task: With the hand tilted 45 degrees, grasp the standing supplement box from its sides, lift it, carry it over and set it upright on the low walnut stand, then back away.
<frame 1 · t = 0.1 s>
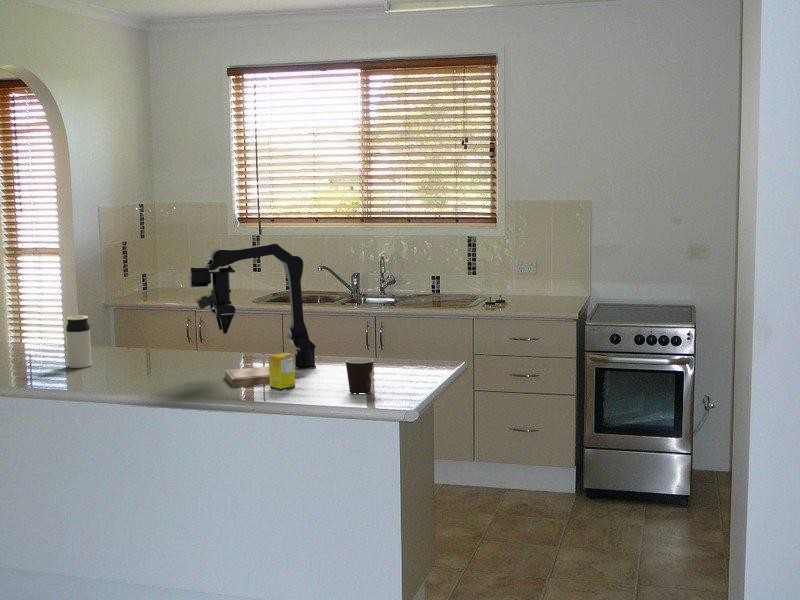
hand: (222, 331, 325), 15 cm above the countertop, tool pointing down, fingers open, 9 cm apart
grey coaster: (290, 376, 321), on the countertop
walnut stand: (253, 380, 316), on the countertop
coffee mug: (362, 391, 297), on the countertop
travel mug: (80, 367, 344), on the countertop
supplement box: (282, 388, 303), on the countertop
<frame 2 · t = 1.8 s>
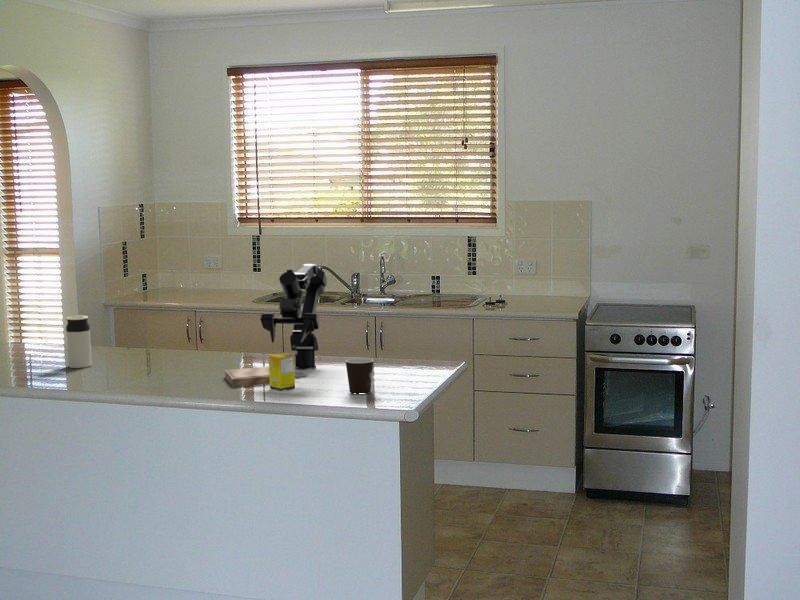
hand: (286, 342, 309), 13 cm above the countertop, tool tilted 45°, fingers open, 9 cm apart
nothing on the countertop moved.
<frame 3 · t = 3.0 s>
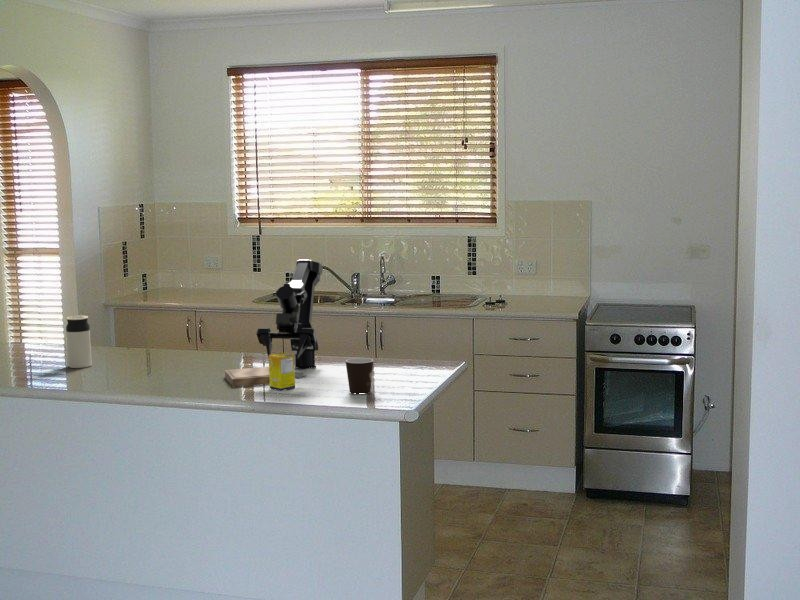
hand: (283, 357, 304), 9 cm above the countertop, tool tilted 45°, fingers open, 9 cm apart
nothing on the countertop moved.
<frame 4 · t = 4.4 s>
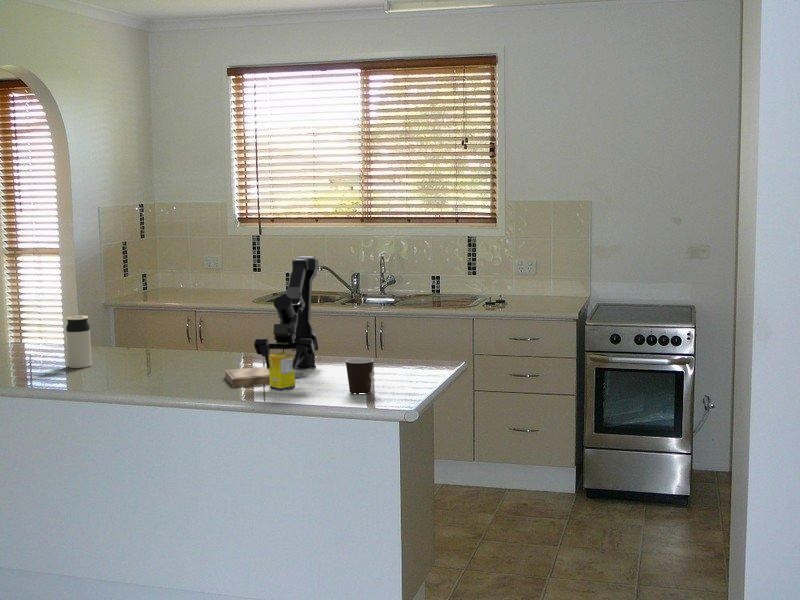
hand: (280, 368, 301), 7 cm above the countertop, tool tilted 45°, fingers closed on supplement box, 8 cm apart
supplement box: (282, 388, 303), on the countertop, touching gripper
everything else where it was.
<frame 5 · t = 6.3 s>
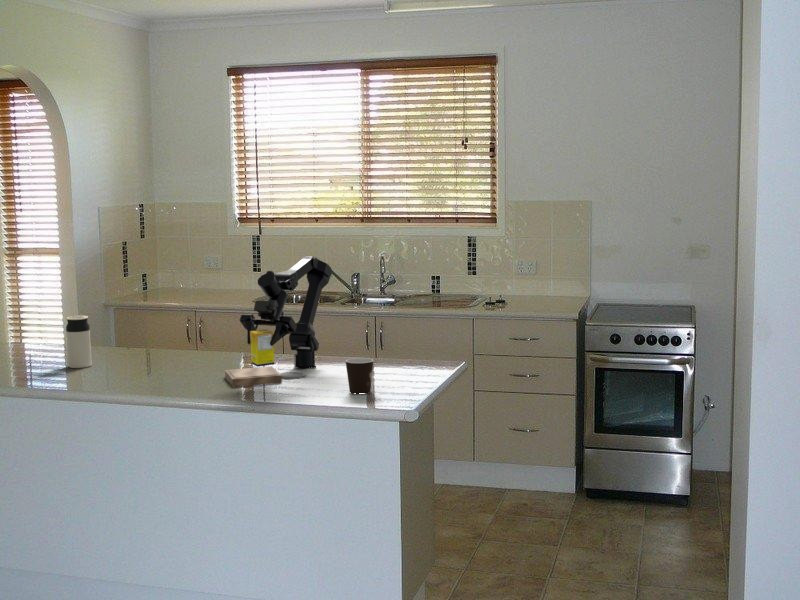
hand: (259, 344, 307), 13 cm above the countertop, tool tilted 45°, fingers closed on supplement box, 8 cm apart
supplement box: (262, 364, 309), point 6 cm above the countertop, touching gripper
everything else where it was.
when the fingers open (10 cm above the countertop, at t = 8.3 s): supplement box stays where it is, resting on walnut stand.
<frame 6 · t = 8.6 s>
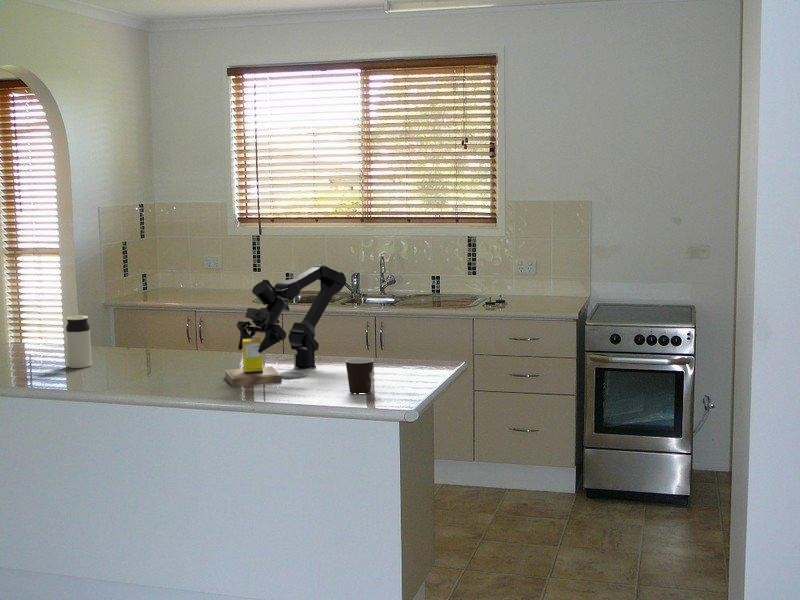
hand: (248, 350, 314), 10 cm above the countertop, tool tilted 45°, fingers open, 9 cm apart
supplement box: (253, 372, 316), point 2 cm above the countertop, touching walnut stand
everything else where it was.
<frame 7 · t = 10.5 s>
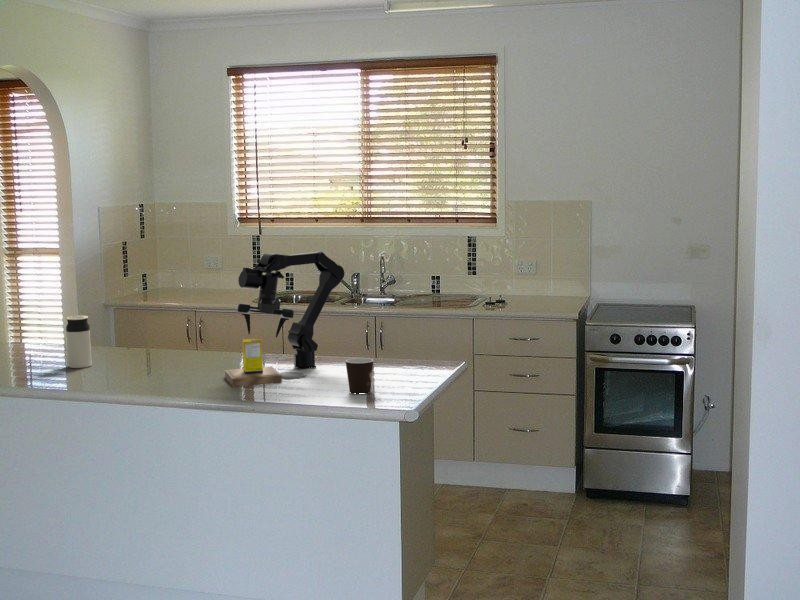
hand: (262, 335, 325), 13 cm above the countertop, tool pointing down, fingers open, 9 cm apart
nothing on the countertop moved.
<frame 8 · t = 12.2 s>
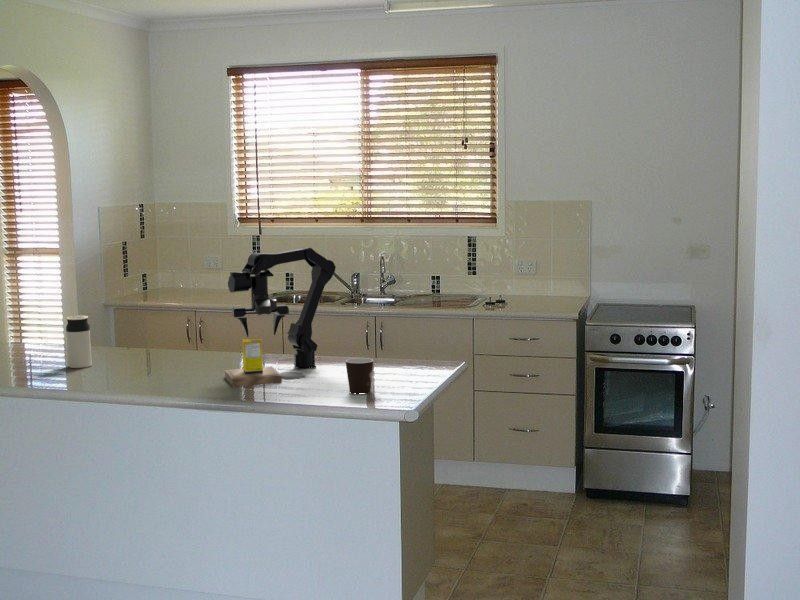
hand: (261, 335, 326), 13 cm above the countertop, tool pointing down, fingers open, 9 cm apart
nothing on the countertop moved.
at the end: supplement box inside the target area on the walnut stand (0.1 cm from its centre), point 2.5 cm above the walnut stand's base; supplement box tilted 0°; the gripper is holding nothing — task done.
